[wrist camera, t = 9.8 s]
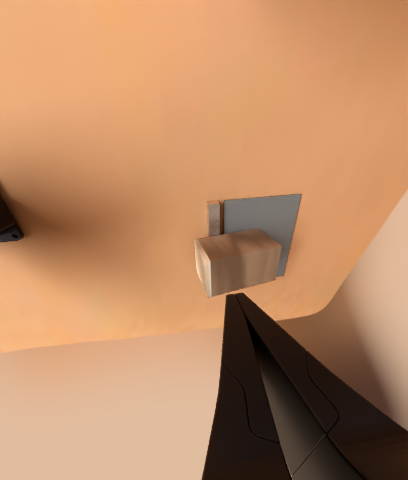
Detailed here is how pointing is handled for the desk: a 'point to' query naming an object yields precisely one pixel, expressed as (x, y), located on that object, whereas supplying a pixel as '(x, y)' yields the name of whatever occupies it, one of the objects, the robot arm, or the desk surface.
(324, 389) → the robot arm
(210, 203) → the stop strip
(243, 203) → the rubber mat
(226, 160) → the desk surface
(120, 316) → the desk surface
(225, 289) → the wooden block
